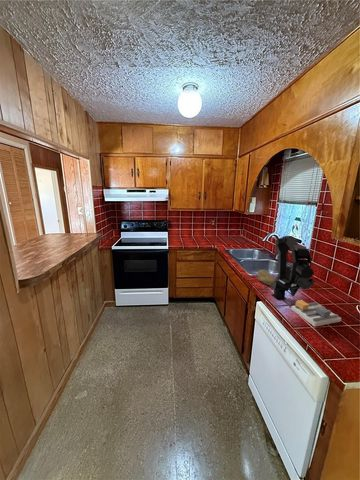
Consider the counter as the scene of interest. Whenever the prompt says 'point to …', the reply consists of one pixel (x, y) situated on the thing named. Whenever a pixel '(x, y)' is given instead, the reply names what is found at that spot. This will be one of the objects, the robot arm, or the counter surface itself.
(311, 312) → the console
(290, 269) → the supplement bottle
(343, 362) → the counter surface
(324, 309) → the fader grey
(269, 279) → the sponge
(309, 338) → the counter surface
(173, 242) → the counter surface
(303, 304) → the fader orange
